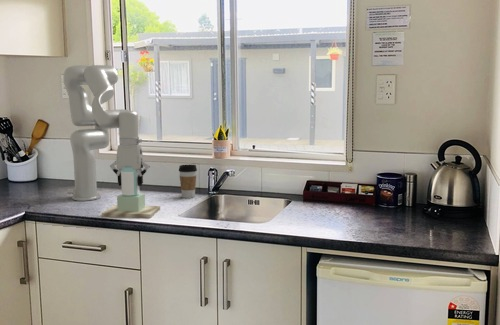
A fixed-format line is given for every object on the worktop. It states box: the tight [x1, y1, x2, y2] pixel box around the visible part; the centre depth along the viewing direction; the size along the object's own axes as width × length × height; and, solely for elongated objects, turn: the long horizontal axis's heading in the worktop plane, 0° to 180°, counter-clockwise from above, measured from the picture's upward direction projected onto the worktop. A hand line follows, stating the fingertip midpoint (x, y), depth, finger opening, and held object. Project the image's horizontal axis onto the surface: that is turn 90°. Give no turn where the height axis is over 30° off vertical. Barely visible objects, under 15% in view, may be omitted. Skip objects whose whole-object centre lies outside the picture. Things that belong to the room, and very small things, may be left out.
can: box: [121, 167, 141, 196], centre depth 222 cm, size 7×7×12 cm
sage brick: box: [116, 192, 146, 212], centre depth 224 cm, size 9×7×6 cm
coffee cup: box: [178, 164, 198, 199], centre depth 254 cm, size 8×8×15 cm
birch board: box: [101, 204, 161, 219], centre depth 224 cm, size 20×14×2 cm
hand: (130, 184), depth 222 cm, fingers open, 7 cm apart
